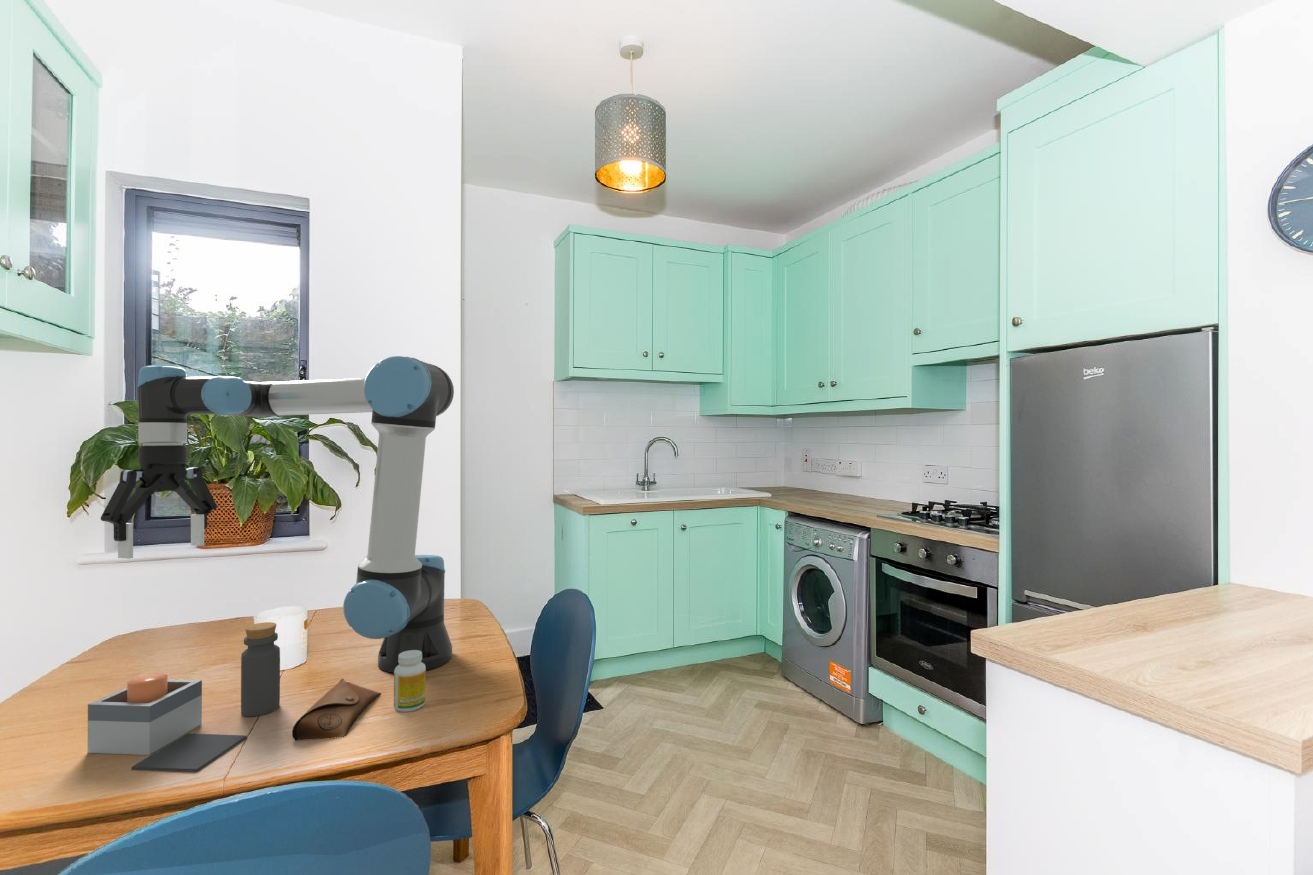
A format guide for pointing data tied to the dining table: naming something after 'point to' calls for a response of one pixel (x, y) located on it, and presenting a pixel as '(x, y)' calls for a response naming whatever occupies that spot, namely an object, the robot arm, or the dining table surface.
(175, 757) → the coaster
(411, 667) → the supplement bottle
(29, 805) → the dining table surface
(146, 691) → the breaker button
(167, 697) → the grey open box
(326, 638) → the dining table surface
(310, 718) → the sunglasses case
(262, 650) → the bottle
